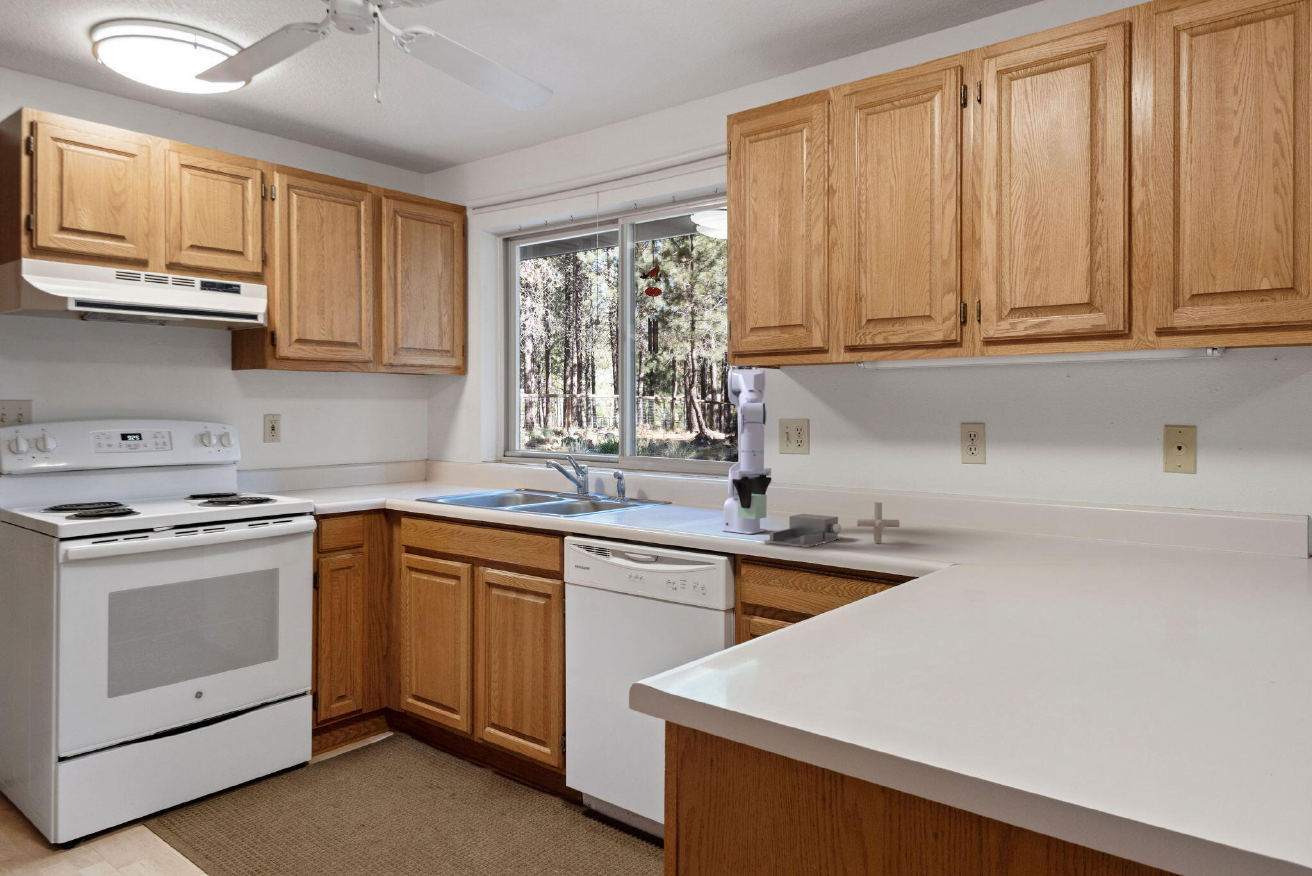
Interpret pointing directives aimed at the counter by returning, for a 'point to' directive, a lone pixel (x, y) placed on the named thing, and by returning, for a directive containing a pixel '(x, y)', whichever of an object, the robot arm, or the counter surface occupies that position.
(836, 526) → the motor mount
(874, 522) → the pipe connector
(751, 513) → the pale mint cube
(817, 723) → the counter surface
